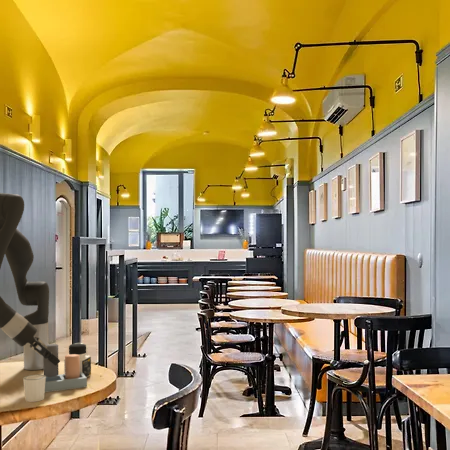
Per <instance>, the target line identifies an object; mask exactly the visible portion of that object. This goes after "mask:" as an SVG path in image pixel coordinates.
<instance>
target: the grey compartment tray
mask: <svg viewBox="0 0 450 450" xmlns="http://www.w3.org/2000/svg"><path fill="white" fill-rule="evenodd" d="M64 360H65V374H64V373H61V374H58V376H54V377H46V380H45V393H48V392H56V391H63V390H65V391H66V390H72V389H81V388H82V389H83V388H87V387H88V377H86V376H85V375H84V374H83V373H82V372H80V355H77V354H71V355H69V354H66V355H65V356H64Z"/></svg>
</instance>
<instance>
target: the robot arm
mask: <svg viewBox="0 0 450 450" xmlns="http://www.w3.org/2000/svg"><path fill="white" fill-rule="evenodd" d="M24 210H25V200H24V197H22V195H20V194H17V193H16V194H15V193H5V192H0V269H1V267H2V264H3V260H4V258H5V257H6V260H7V264H8V265H9V268H10V270H11V274H12V277H13V280H14V284H15V289H16V294H17V298H18V300H19V303H20V304H21V305H23V306H28V307H29V306H32V307H34V306H37V309H36V310H35V311H33V312H32V313H29V314H26V315H25V316H23V315H22V314H20V313H18V312H17V310H15V309H14V308H12V307H11V306H10V305H9V304H7V303H6V302H5V300H4V299H3V298H2V296H0V329H1V331H2V332H4V334H6V336H8V337H9V338H10V339H11V340H12V341H14V343H16V344H17V345H18V346H19V347H23V369H24V370H27V371H37V370H44V361H43V357H44V358H45V359H48V360H49V361H50V362H52V363H53V364H54V365H55V366H56V365H57V364H58V365H59V363H60V362H61V360H60V359H59V357H58V358H57V357H56V356H54V355H53V354H52V352H50V351H49V350H48V347H47V346H46V345H48V344H50V343H49V313H50V311H49V310H50V309H49V306H50V287H49V284H48V282H46V281H28V279H27V274H28V272H29V270H30V269H31V267H32V265H33V262H34V259H35V257H34V255H35V254H34V252H33V250H32V249H33V248H32V246H31V243H30V241H29V240H28V238H27V237H26V236H25V235H24V234H23V232H21V231H20V230H19V229H18V226H19V224H20V222H21V220H22V217H23V214H24V212H25V211H24ZM45 351H47V352H48V353H47V354H46V355H44V352H45Z"/></svg>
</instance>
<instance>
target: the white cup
mask: <svg viewBox="0 0 450 450" xmlns="http://www.w3.org/2000/svg"><path fill="white" fill-rule="evenodd" d="M22 380H23V390H24V397H25V401H26V402H28V403H29V402H31V403H33V402H40V401H43V400H44V399H45V393H46V392H45V380H46V376H45V375H44V374H30V375H26V376H24V377H23V378H22Z"/></svg>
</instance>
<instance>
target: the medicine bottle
mask: <svg viewBox="0 0 450 450" xmlns="http://www.w3.org/2000/svg"><path fill="white" fill-rule="evenodd" d="M71 354H77V355H80V372H82V373H83V374H84V375H85V376H86V377H87V378H88V377H90V376H91V375H92V357H91V355H87V345H86V344H85V343H82V342H76V343H72V344H70V345H68V355H71ZM63 363H64V366H63V367H64V368H63V369H64V371H63V372H64V373H63V374H65V359H64V360H63Z"/></svg>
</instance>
